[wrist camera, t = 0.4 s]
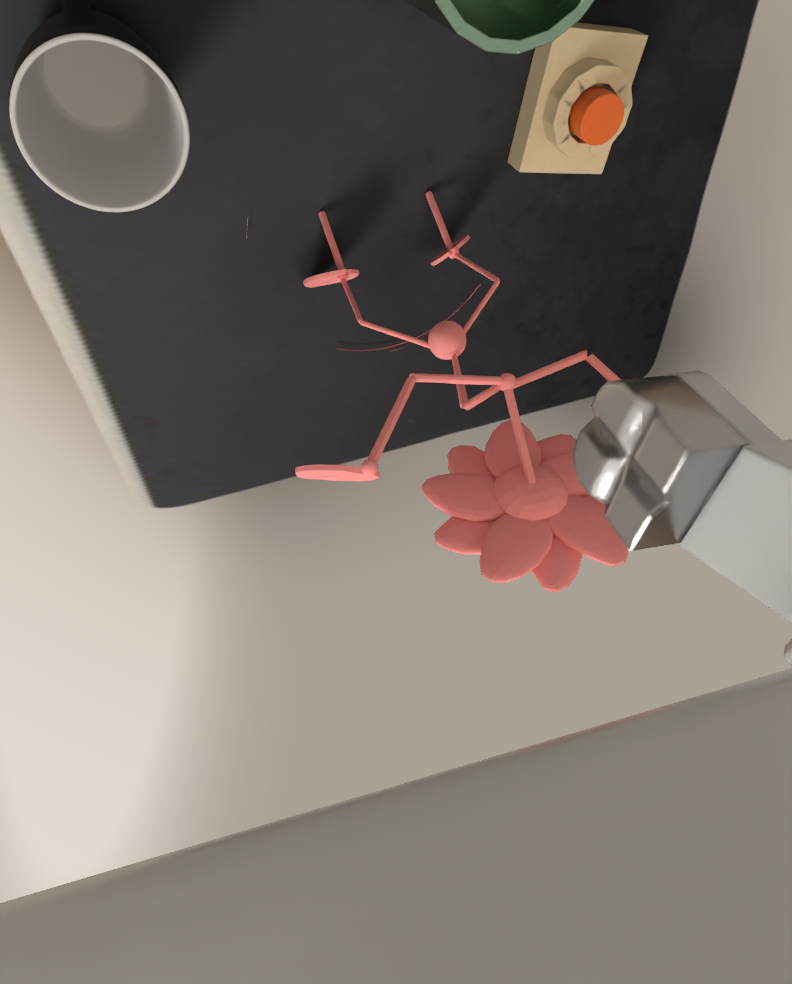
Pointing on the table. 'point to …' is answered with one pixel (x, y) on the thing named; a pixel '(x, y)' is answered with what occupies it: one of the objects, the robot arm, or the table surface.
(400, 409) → the figurine
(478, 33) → the dark green cylinder
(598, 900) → the robot arm
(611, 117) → the power button
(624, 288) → the table surface
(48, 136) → the mug
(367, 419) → the table surface
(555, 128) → the switch base
